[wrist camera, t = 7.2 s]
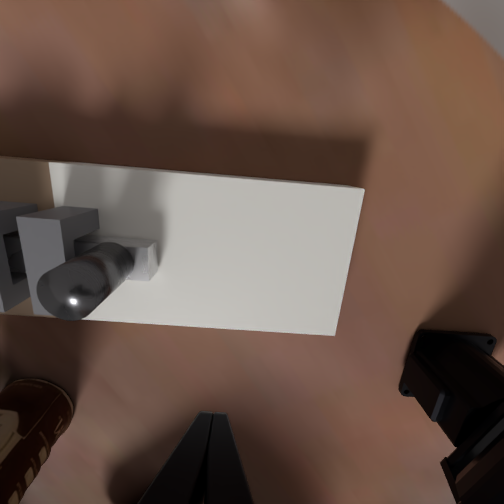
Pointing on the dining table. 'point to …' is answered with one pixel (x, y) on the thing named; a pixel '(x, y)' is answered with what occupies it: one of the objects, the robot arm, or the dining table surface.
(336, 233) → the door lock board
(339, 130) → the dining table surface
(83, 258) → the bolt
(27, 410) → the coffee cup
